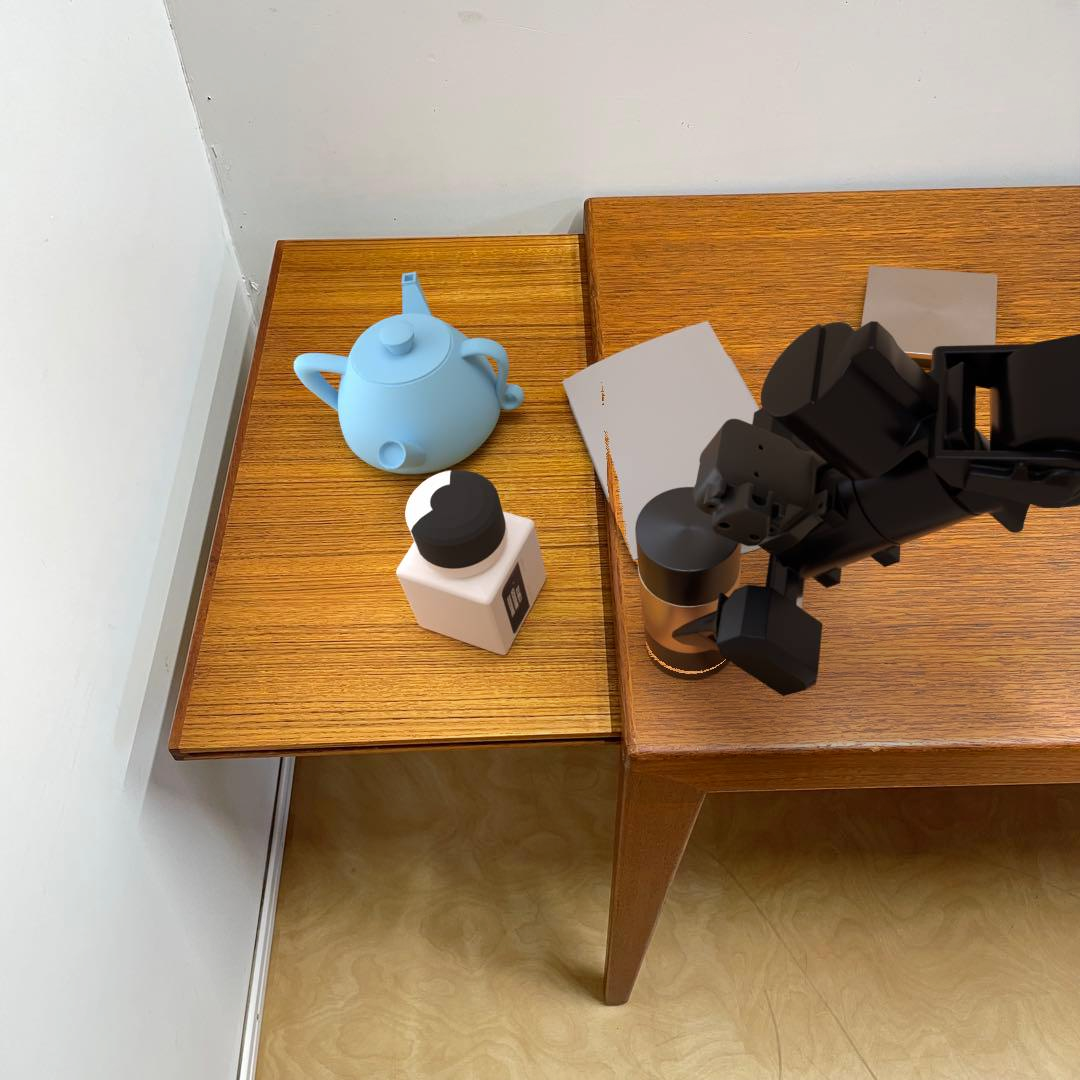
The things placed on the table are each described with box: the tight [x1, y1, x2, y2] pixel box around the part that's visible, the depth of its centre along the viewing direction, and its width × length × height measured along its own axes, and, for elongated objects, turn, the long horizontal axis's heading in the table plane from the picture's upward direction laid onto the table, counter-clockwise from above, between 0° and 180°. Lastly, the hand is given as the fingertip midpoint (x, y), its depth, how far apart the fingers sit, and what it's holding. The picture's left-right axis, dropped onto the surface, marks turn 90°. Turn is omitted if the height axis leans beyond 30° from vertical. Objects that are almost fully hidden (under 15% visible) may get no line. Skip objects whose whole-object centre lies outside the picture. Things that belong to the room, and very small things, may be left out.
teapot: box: [293, 271, 525, 475], centre depth 85 cm, size 15×17×11 cm
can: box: [635, 487, 742, 681], centre depth 67 cm, size 7×7×14 cm
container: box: [395, 469, 547, 656], centre depth 72 cm, size 8×8×13 cm
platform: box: [860, 265, 999, 368], centre depth 88 cm, size 11×11×2 cm
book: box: [561, 320, 762, 561], centre depth 82 cm, size 15×23×4 cm, turn 15°
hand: (687, 579), depth 66 cm, fingers open, 9 cm apart
